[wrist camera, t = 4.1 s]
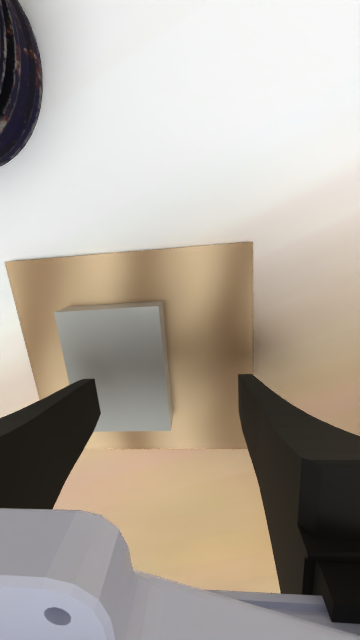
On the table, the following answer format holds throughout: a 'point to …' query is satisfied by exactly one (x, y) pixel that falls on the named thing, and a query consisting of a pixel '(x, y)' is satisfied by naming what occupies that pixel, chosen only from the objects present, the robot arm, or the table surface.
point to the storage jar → (17, 80)
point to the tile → (120, 362)
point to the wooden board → (180, 324)
